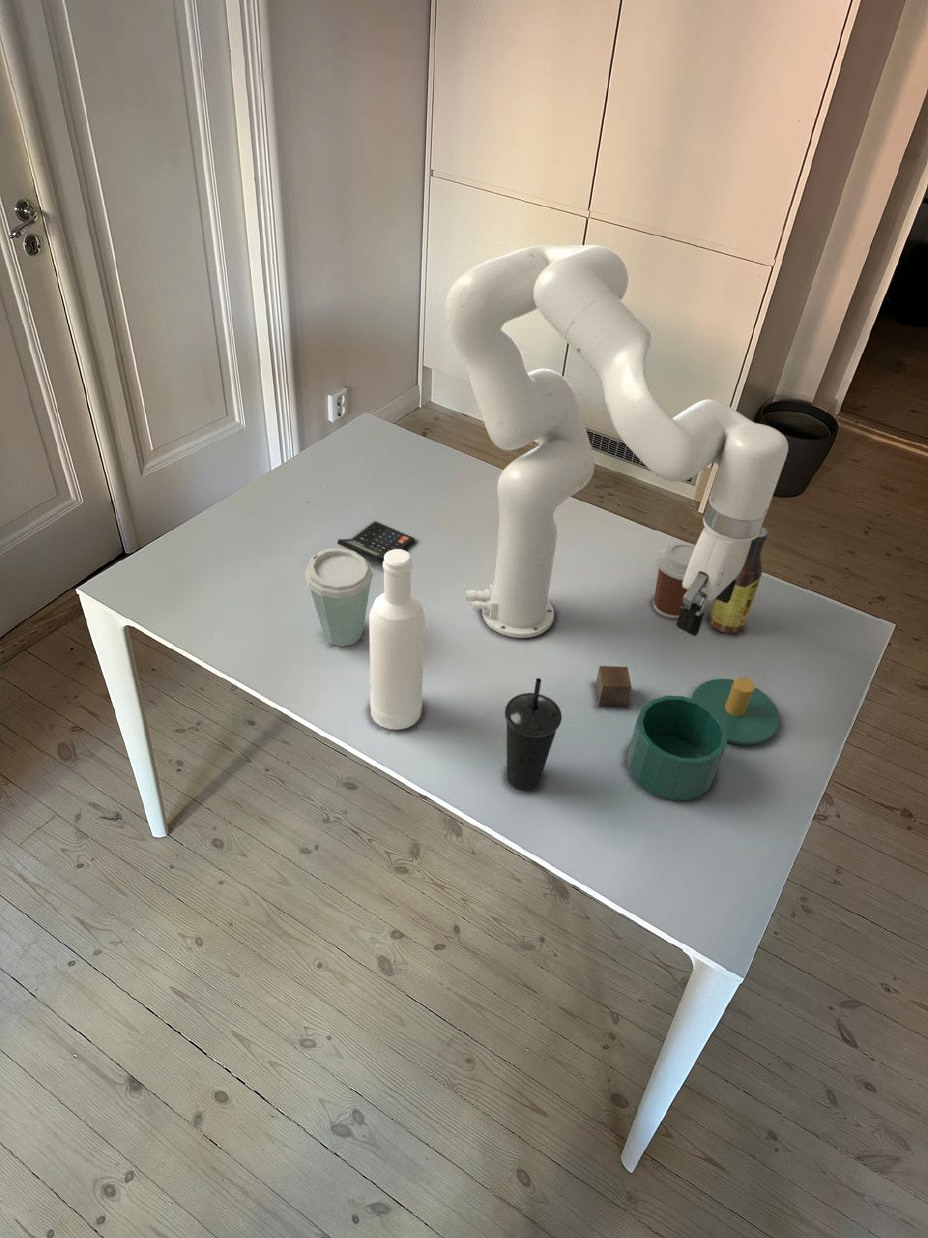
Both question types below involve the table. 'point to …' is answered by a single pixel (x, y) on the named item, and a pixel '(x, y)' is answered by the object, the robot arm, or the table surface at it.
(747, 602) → the sauce bottle
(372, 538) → the calculator
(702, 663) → the table surface
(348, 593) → the disposable coffee cup
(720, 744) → the tin
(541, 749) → the drinking cup
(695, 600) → the robot arm
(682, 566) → the coffee cup
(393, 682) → the bottle
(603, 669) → the block
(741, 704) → the tin lid
